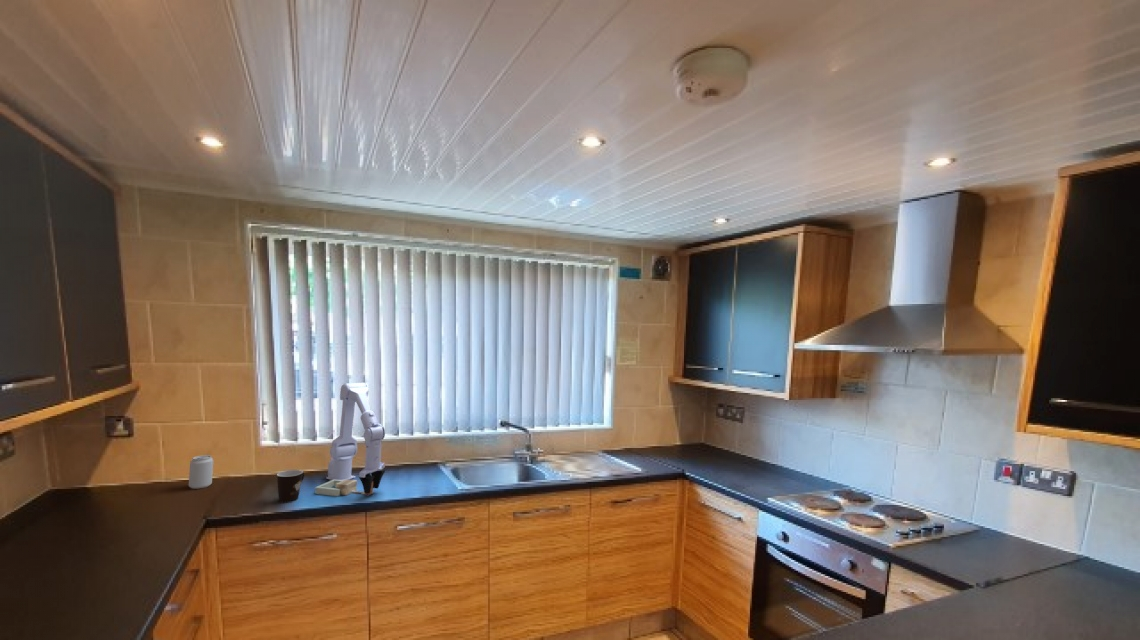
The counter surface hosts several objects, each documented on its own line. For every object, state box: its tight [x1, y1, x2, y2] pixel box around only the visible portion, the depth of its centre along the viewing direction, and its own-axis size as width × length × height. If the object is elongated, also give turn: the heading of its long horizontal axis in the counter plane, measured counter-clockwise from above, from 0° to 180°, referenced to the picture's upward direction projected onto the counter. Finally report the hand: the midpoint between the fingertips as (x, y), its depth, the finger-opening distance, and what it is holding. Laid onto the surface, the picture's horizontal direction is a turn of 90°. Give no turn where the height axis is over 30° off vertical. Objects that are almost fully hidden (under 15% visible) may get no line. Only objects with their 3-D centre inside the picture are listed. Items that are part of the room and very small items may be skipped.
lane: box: [314, 479, 343, 497], centre depth 190 cm, size 10×11×2 cm
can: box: [188, 454, 214, 490], centre depth 189 cm, size 8×8×12 cm
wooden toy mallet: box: [335, 479, 374, 496], centre depth 188 cm, size 14×6×5 cm, turn 82°
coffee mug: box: [276, 469, 305, 503], centre depth 180 cm, size 12×9×10 cm
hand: (371, 490), depth 187 cm, fingers open, 5 cm apart
